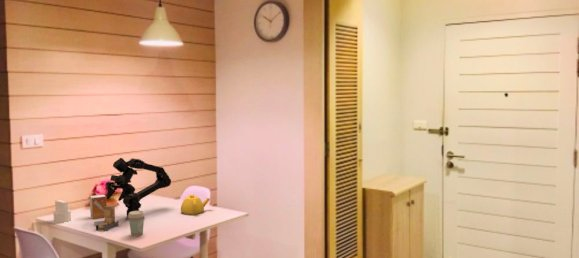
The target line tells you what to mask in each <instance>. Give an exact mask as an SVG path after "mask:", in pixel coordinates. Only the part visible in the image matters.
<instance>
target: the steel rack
mask: <svg viewBox="0 0 579 258" xmlns="http://www.w3.org/2000/svg"><path fill="white" fill-rule="evenodd" d="M119 226H120V224H119V221H118V220H116V221H115V222H114V223H112V224H109V225H107V226H104V227H103V231H102V232H107V231H108V230H112V229H114V228H116V227H119ZM98 227H99V226H98V225H96V226H95V231H99V230H98Z"/></svg>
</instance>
